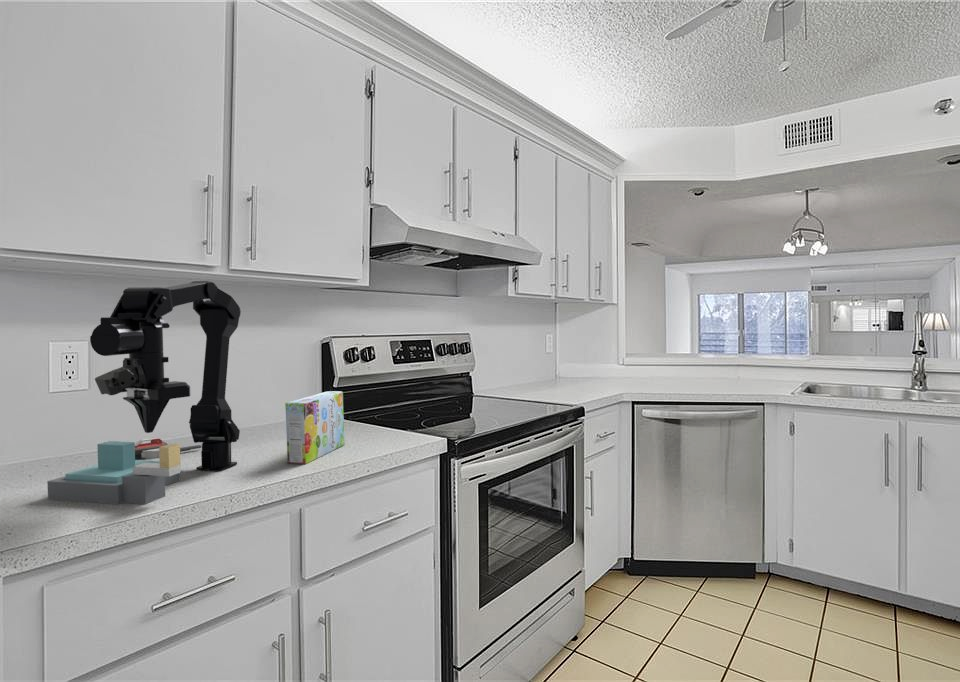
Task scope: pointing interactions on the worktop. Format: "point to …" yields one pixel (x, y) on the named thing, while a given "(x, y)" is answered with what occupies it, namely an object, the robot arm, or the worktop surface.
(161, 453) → the white yellow l-shaped block
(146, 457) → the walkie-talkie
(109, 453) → the cover
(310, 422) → the snack box
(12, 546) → the worktop surface
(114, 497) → the tray
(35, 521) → the worktop surface
